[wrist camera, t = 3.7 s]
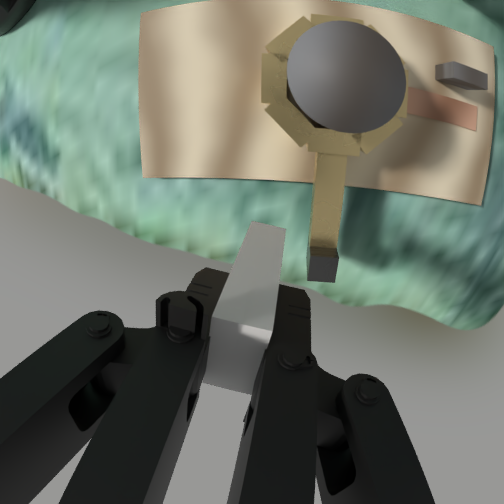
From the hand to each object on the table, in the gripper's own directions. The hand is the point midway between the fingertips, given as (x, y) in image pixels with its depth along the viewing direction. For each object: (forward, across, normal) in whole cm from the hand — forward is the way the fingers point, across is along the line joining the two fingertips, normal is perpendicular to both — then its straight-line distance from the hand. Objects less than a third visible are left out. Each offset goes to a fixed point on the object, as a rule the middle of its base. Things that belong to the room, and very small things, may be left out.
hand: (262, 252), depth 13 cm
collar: (+9, +3, +5) cm, 11 cm away
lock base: (+11, +2, +9) cm, 14 cm away
